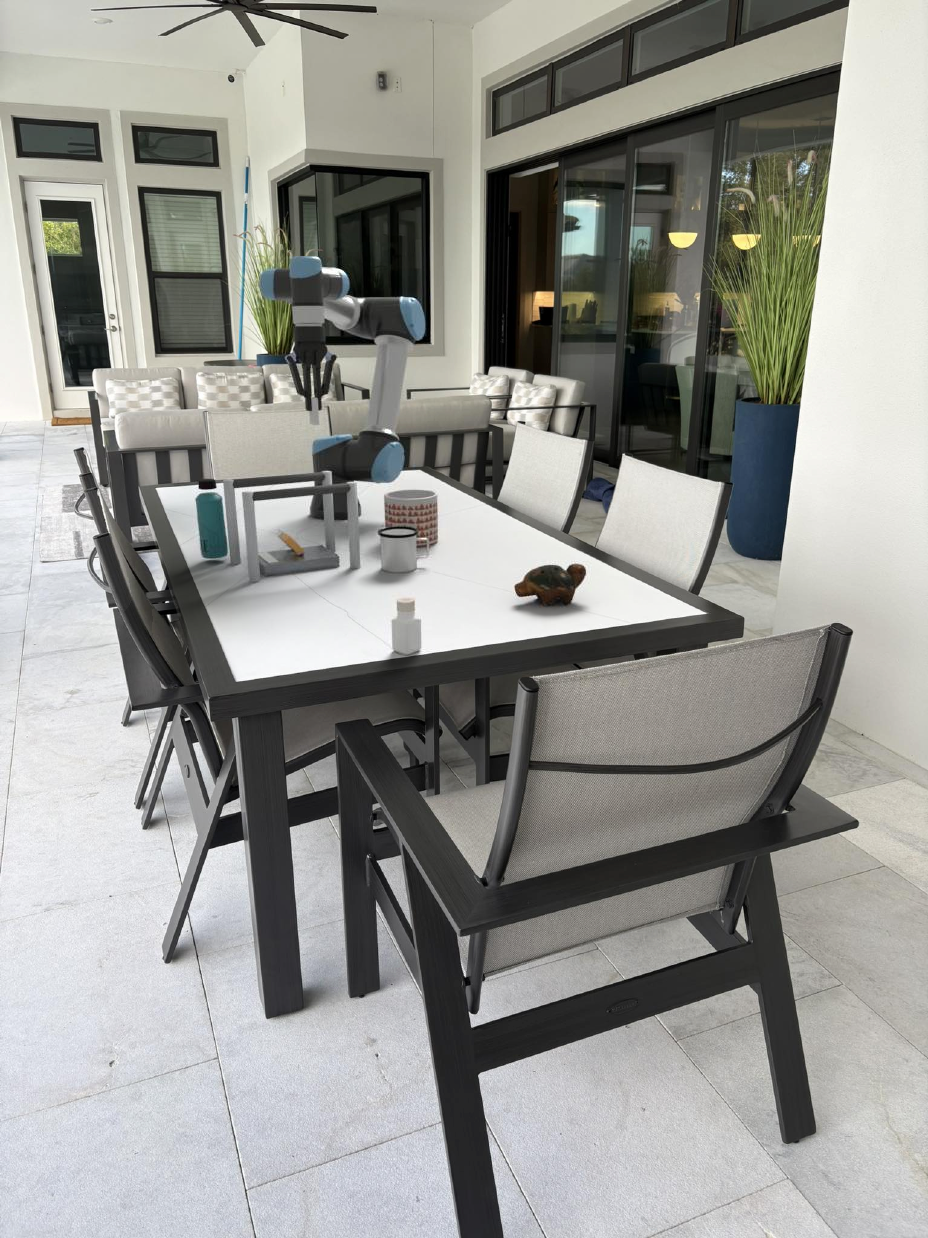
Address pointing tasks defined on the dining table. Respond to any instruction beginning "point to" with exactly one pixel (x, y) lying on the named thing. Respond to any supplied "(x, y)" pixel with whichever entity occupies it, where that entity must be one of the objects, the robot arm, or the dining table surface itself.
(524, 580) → the decorative turtle
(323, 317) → the robot arm
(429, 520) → the planter
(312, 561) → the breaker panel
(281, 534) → the off-white eraser brick
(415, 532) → the mug
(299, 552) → the amber brick
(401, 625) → the small white bottle
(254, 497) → the cord rack
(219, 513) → the beverage bottle
